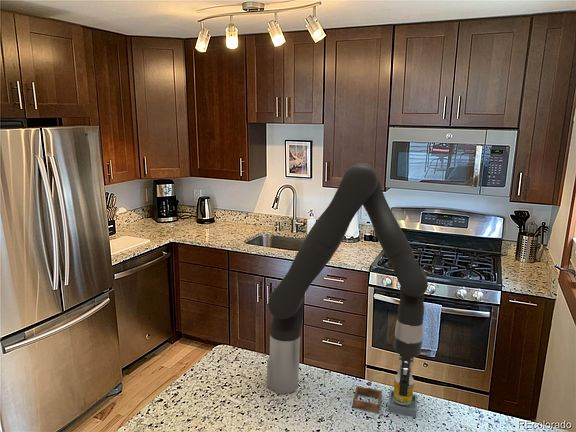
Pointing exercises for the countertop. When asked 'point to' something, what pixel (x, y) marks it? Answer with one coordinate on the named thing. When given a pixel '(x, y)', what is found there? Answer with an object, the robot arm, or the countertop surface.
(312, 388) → the countertop surface
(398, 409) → the tray
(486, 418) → the countertop surface
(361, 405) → the wooden square frame
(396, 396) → the supplement bottle
